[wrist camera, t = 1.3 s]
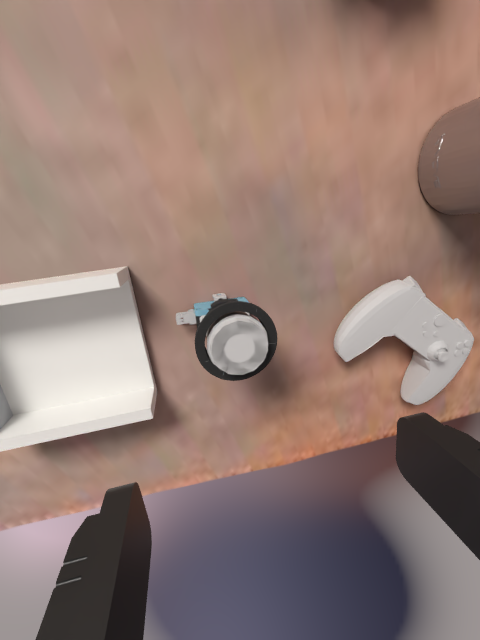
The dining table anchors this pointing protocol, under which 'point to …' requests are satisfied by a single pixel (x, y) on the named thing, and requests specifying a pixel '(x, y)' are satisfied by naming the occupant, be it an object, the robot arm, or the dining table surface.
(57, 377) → the box
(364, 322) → the game controller
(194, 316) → the push button
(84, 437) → the dining table surface
